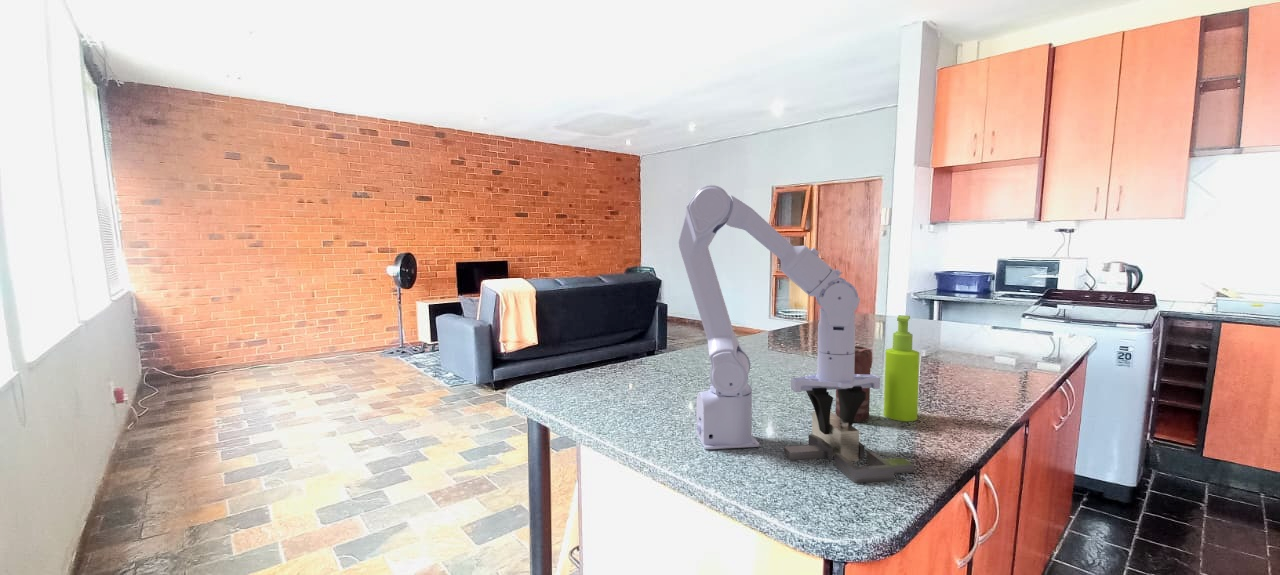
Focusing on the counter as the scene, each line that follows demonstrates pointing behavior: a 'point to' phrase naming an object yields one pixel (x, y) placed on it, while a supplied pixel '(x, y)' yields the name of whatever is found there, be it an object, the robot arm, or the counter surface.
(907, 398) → the soap dispenser
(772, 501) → the counter surface
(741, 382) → the robot arm
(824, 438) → the studded metal block
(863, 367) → the can
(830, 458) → the grey linked bars
